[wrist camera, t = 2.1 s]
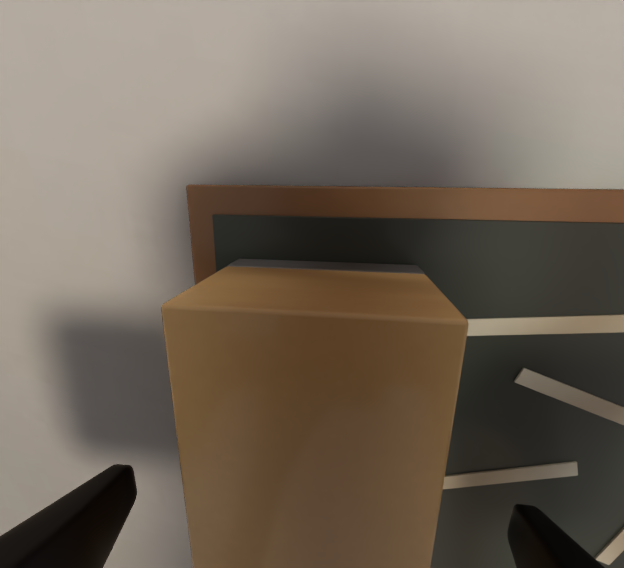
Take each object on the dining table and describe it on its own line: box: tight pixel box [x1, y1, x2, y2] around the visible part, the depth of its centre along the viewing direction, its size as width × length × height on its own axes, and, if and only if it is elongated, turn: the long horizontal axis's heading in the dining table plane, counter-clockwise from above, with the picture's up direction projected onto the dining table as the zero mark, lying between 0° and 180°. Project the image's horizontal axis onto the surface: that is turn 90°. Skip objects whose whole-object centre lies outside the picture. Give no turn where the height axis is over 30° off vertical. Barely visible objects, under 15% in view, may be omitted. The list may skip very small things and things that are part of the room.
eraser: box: [161, 259, 469, 568], centre depth 8 cm, size 5×10×4 cm, turn 179°
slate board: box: [186, 185, 624, 568], centre depth 10 cm, size 20×14×1 cm
